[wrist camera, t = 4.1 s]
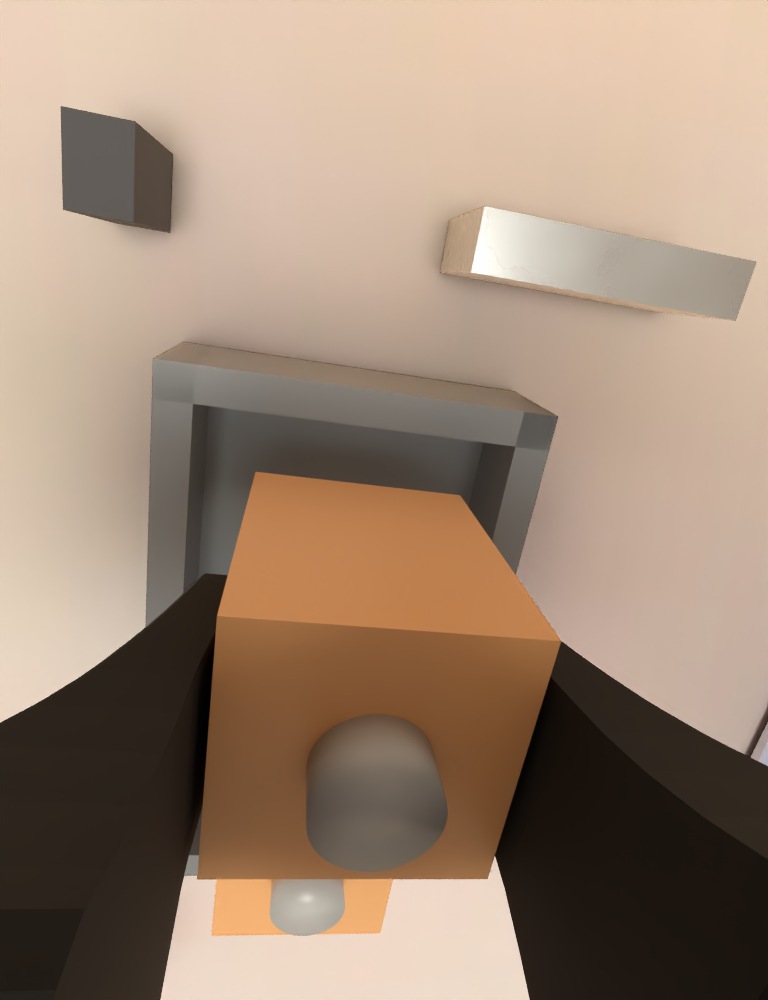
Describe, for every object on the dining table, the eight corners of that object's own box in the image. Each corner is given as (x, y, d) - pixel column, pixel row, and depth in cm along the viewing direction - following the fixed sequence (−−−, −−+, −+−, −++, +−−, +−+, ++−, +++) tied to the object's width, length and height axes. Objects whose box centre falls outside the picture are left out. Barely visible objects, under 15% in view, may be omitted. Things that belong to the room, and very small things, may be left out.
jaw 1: (459, 495, 12) (591, 684, 6) (423, 663, 13) (505, 937, 8) (255, 471, 11) (204, 661, 6) (238, 651, 12) (186, 943, 7)
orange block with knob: (382, 668, 18) (415, 843, 12) (362, 771, 19) (384, 969, 14) (246, 660, 17) (217, 842, 11) (236, 767, 18) (206, 974, 13)
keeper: (172, 154, 13) (135, 121, 10) (170, 232, 13) (133, 222, 11) (114, 142, 13) (60, 106, 10) (115, 223, 13) (63, 209, 10)
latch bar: (673, 263, 15) (756, 261, 12) (658, 312, 15) (735, 320, 13) (449, 219, 14) (484, 205, 11) (440, 272, 14) (471, 272, 12)
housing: (514, 391, 16) (558, 416, 13) (417, 794, 21) (434, 876, 18) (183, 341, 14) (152, 358, 12) (163, 788, 19) (138, 875, 16)
